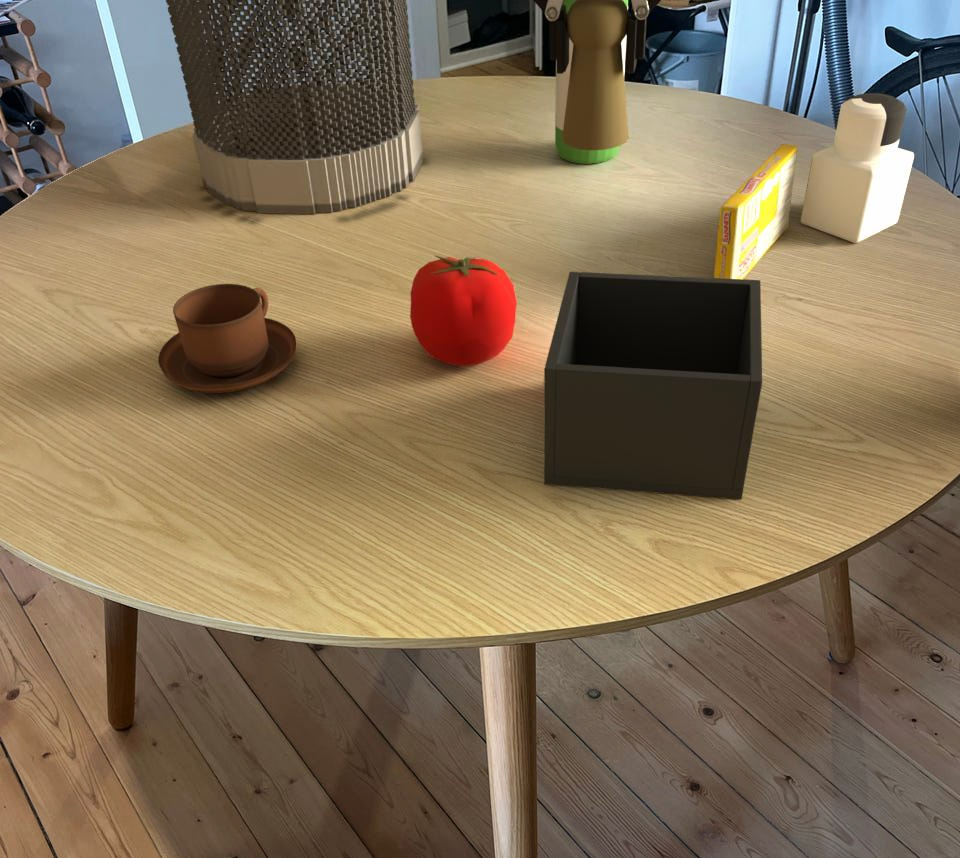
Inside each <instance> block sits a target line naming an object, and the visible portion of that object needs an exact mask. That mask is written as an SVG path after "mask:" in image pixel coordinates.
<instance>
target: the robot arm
mask: <svg viewBox="0 0 960 858" xmlns="http://www.w3.org/2000/svg"><path fill="white" fill-rule="evenodd" d="M532 1H533V2H534V3H535V4H536V5H537V7H538V8H539V9H540V10H541V12H542V13H544V15H545V18H546V19H547V21H549V60H550V61H556V60H557V74H563V72H566V69H567V66H568V64H569V35H568V31H567V17H568V14H567V11H566V6H565V5H564V2H565V0H532ZM661 1H662V0H630V3H631V10H630V13H629V19H628V25H627V35H626V53H625V72H627V74H635V71H636V67H637V61H638V60H645V53H646V34H647V18H648V17H649V14H651V12H652V11H653V10H654V9H655V8H656V6H657V5H658V4H659V3H661Z"/></svg>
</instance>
